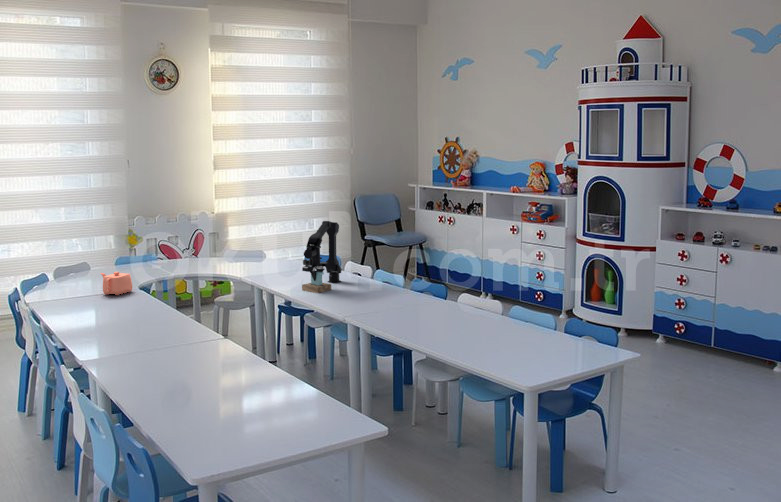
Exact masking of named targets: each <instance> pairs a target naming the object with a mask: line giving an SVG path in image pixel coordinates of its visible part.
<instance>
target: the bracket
mask: <svg viewBox="0 0 781 502" xmlns="http://www.w3.org/2000/svg"><path fill="white" fill-rule="evenodd" d="M323 275H325V272H324V271H323V272H318V271H317V274H316V280H315V281H314V280H313V277H312V275H311V274H310V283H311V284H314V285H322V283H323Z"/></svg>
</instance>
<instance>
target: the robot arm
mask: <svg viewBox="0 0 781 502" xmlns="http://www.w3.org/2000/svg"><path fill="white" fill-rule="evenodd" d="M339 231H340V224H339V223H338V222H334V221H330V220H323V221H321V224H320V226H319V227H318V229H317V230H316V231H315V232H314V233H312V234H311V235H310V236H309V237H308V240H307V243H306V248H305V250H304V252H303V257H304V258H305V259H303V260H302V264H303V266H302V269H301V270H302V272H306V273H307V272H308V273H310V276H311V275H312V277H313V280H314V281H315V280H316V274H317V271H318V272H324V271H325V270H326V273H327V274H329V275H328V280H327V283H332V284H333V283H334V284H336V283H339V282H342V280H340V274H342V267H341V265H340V261H339V260H338V258H337V235H338V233H339ZM326 233H327V235H328V259H327V260H325V262H324V261H323V262H321V260H322V256H321V248H322V246H321V244H322V242H323V237H324V236H325V234H326Z"/></svg>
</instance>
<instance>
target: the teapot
mask: <svg viewBox="0 0 781 502" xmlns="http://www.w3.org/2000/svg"><path fill="white" fill-rule="evenodd" d="M99 274H101V276H102V278H103V279H102V292H103V295H109V294H115V295H114V296H120V295H119V294H121V295H123V293H124V294H128V293H130V292H131V291H133V281H132V276H131V273H123V272H120V271H114V272H113V273H111V274H106V273H103V272H100V273H99ZM127 292H128V293H127Z"/></svg>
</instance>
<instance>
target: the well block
mask: <svg viewBox="0 0 781 502" xmlns="http://www.w3.org/2000/svg"><path fill="white" fill-rule="evenodd" d="M331 290H332V284H331V283H328V282H327V283H326V282H322V285H314V284H311V282H308V283H304V284H301V291H304V292H305V291H306V292H309V293H313V294H314V293H315V294H320V293H324V292H327V291H331Z"/></svg>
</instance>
